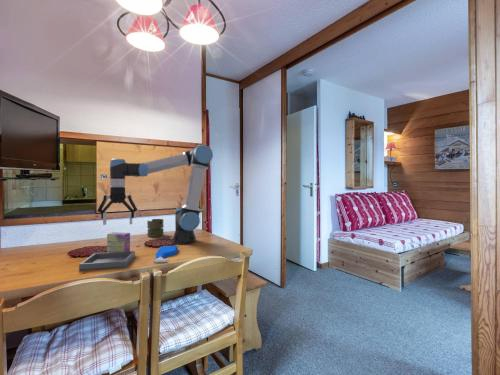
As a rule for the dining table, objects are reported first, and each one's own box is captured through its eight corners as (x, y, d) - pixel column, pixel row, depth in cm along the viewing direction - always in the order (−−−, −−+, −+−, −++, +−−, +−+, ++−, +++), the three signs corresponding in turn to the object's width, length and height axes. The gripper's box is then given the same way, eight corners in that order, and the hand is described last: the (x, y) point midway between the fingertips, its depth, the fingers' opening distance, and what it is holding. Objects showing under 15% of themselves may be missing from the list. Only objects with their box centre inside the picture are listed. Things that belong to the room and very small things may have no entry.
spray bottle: (160, 245, 151) (148, 259, 127) (179, 245, 152) (170, 258, 128) (160, 250, 151) (148, 265, 127) (179, 250, 152) (170, 264, 128)
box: (130, 252, 145) (130, 232, 145) (124, 255, 140) (124, 234, 139) (113, 252, 147) (113, 232, 146) (106, 255, 141) (106, 234, 140)
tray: (134, 256, 138) (134, 251, 138) (125, 267, 121) (125, 261, 121) (94, 258, 134) (94, 253, 134) (79, 270, 117) (79, 264, 117)
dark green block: (144, 220, 185) (153, 218, 196) (144, 237, 186) (153, 234, 197) (157, 221, 183) (166, 219, 194) (157, 238, 183) (166, 234, 194)
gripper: (90, 186, 136) (90, 226, 136) (140, 186, 141) (140, 224, 141) (95, 186, 143) (96, 223, 144) (142, 186, 148) (142, 222, 149)
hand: (117, 224), depth 143 cm, fingers open, 13 cm apart
